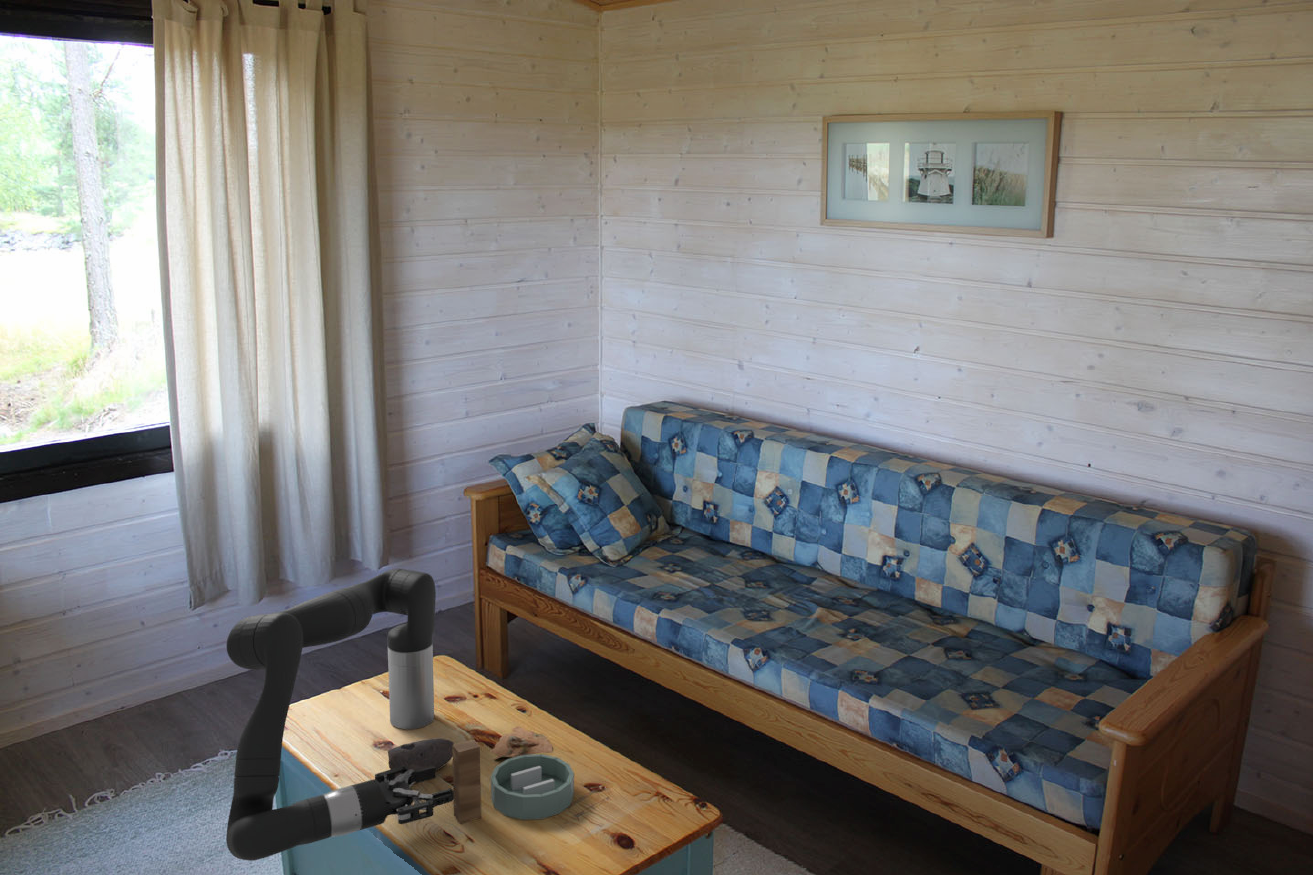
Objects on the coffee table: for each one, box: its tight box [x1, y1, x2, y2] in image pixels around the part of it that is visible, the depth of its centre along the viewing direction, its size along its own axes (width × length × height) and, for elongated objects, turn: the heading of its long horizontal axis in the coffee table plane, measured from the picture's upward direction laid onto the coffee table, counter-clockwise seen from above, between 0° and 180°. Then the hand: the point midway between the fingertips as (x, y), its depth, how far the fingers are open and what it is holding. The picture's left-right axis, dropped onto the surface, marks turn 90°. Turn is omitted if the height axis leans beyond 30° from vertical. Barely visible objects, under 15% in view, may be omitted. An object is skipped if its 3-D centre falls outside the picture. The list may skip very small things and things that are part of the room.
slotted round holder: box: [490, 753, 575, 821], centre depth 202 cm, size 15×15×4 cm
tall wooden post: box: [452, 739, 482, 825], centre depth 194 cm, size 3×4×14 cm
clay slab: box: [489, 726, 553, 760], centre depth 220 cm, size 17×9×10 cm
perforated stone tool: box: [387, 737, 455, 778], centre depth 208 cm, size 15×5×7 cm, turn 130°
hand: (443, 782), depth 191 cm, fingers open, 8 cm apart
